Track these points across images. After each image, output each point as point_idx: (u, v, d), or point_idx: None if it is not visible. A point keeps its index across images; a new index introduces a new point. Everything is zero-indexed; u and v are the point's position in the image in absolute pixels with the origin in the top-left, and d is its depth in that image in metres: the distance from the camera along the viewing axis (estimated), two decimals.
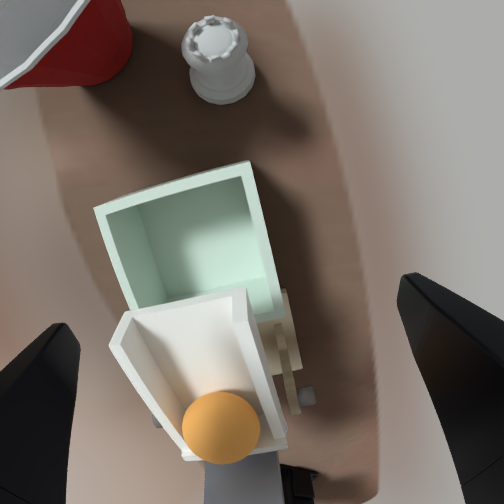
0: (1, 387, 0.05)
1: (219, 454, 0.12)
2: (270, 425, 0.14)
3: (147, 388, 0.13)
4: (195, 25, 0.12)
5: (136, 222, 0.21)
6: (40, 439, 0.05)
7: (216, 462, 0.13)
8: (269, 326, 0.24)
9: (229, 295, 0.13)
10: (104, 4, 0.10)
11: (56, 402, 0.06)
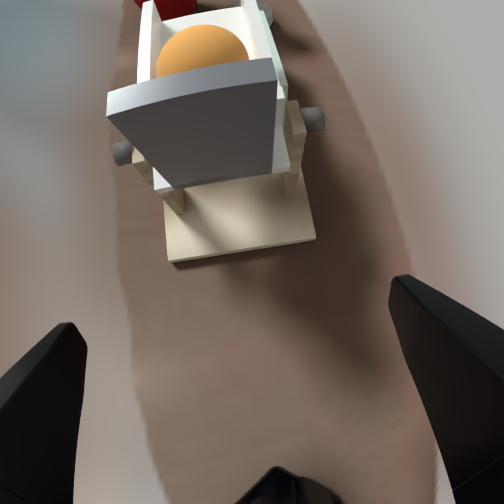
0: (8, 388, 0.05)
1: (196, 30, 0.10)
2: None
3: (151, 28, 0.12)
4: None
5: None
6: (47, 441, 0.05)
7: (186, 47, 0.10)
8: (275, 173, 0.22)
9: (239, 8, 0.14)
10: None
11: (63, 403, 0.06)
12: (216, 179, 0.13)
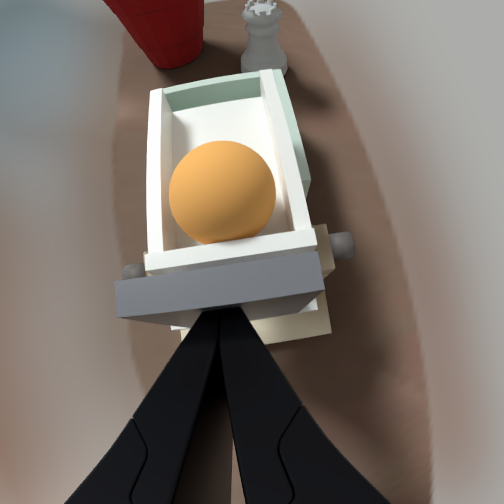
0: (181, 396, 0.05)
1: (214, 155, 0.10)
2: (290, 194, 0.11)
3: (160, 130, 0.13)
4: (251, 0, 0.19)
5: None
6: (220, 453, 0.05)
7: (203, 181, 0.10)
8: None
9: (258, 98, 0.15)
10: None
11: (226, 402, 0.06)
12: None
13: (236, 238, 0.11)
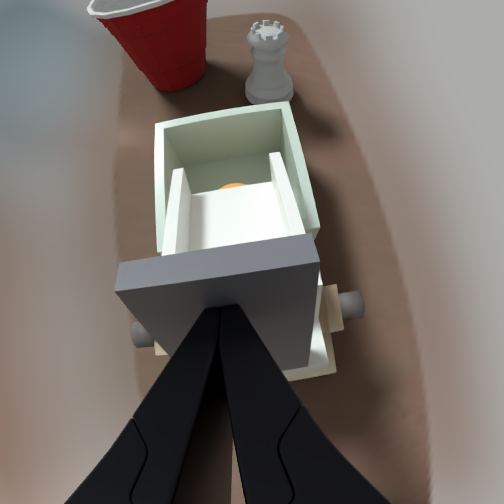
0: (181, 395, 0.05)
1: None
2: None
3: (179, 199, 0.15)
4: (257, 22, 0.19)
5: None
6: (221, 452, 0.05)
7: None
8: None
9: (269, 183, 0.18)
10: (202, 5, 0.19)
11: (226, 402, 0.06)
12: None
13: (237, 184, 0.20)
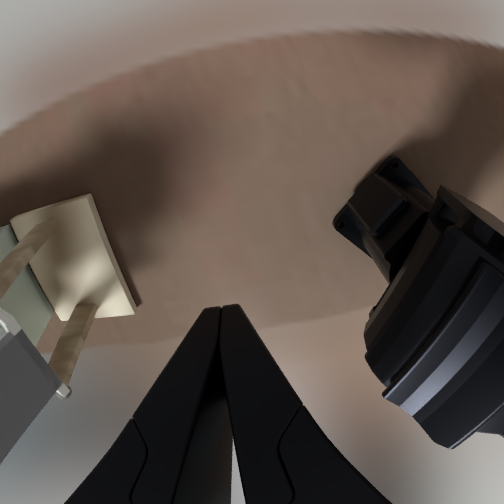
0: (181, 396, 0.05)
1: None
2: None
3: None
4: None
5: None
6: (221, 453, 0.05)
7: None
8: None
9: None
10: None
11: (226, 402, 0.06)
12: (40, 365, 0.13)
13: None
